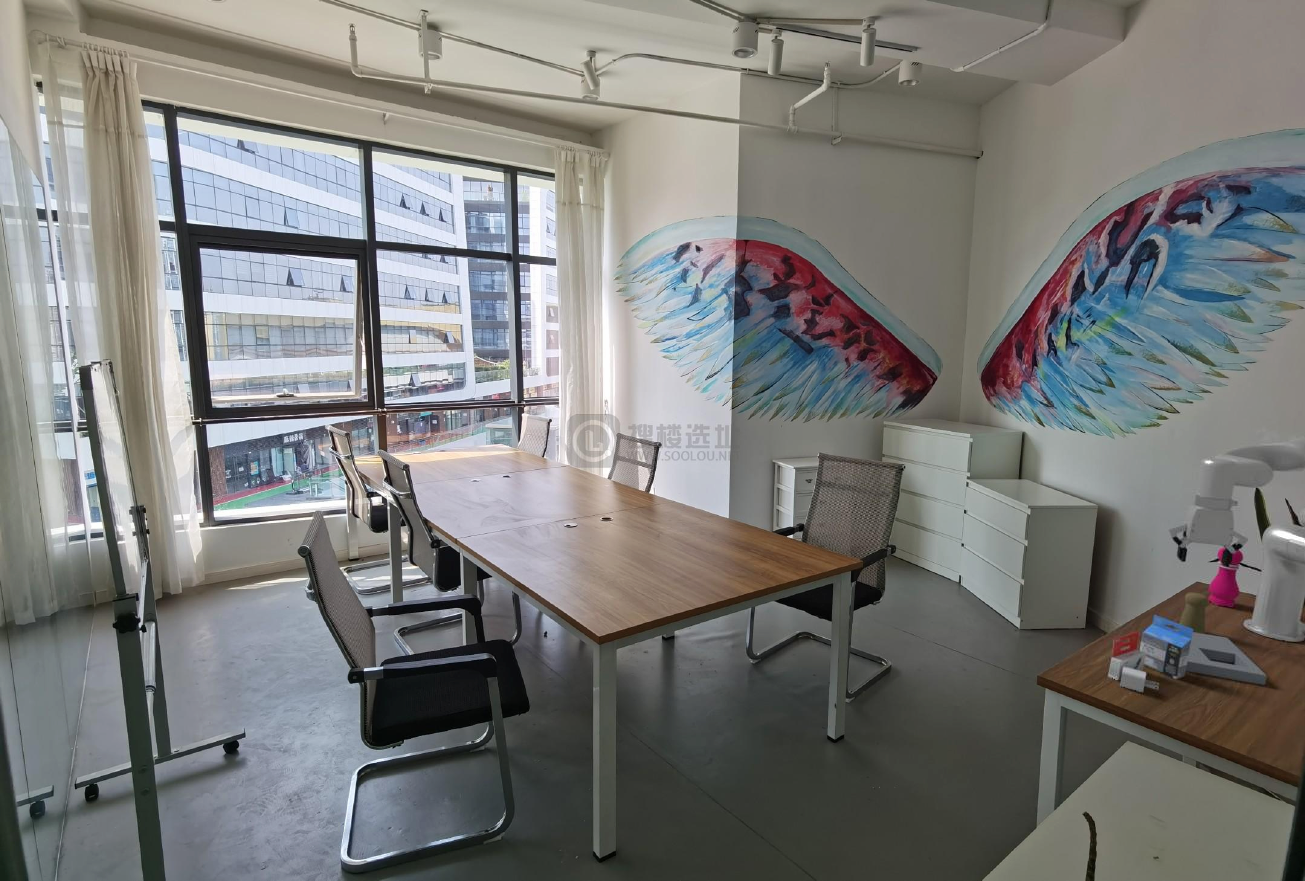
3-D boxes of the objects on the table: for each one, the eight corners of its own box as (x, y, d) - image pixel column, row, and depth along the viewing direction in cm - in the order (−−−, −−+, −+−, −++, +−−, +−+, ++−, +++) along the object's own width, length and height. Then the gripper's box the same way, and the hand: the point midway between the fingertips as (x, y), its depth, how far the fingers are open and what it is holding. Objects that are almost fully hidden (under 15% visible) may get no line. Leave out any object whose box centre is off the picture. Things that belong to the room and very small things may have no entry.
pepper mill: (1242, 609, 200) (1254, 547, 197) (1215, 607, 202) (1226, 545, 199) (1227, 600, 207) (1238, 540, 204) (1201, 598, 209) (1211, 538, 206)
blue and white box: (1136, 662, 163) (1144, 616, 161) (1145, 659, 165) (1153, 614, 163) (1176, 679, 155) (1184, 631, 153) (1185, 677, 157) (1194, 629, 155)
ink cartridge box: (1143, 672, 159) (1149, 635, 157) (1118, 682, 153) (1124, 643, 152) (1132, 667, 161) (1138, 630, 159) (1106, 677, 156) (1112, 638, 154)
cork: (1172, 626, 186) (1178, 589, 184) (1191, 626, 187) (1197, 589, 185) (1191, 635, 180) (1197, 598, 178) (1210, 635, 181) (1217, 598, 179)
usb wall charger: (1121, 680, 154) (1123, 665, 153) (1157, 691, 150) (1160, 675, 149) (1119, 687, 151) (1122, 671, 150) (1157, 698, 147) (1159, 681, 146)
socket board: (1225, 646, 174) (1226, 637, 174) (1264, 685, 154) (1266, 675, 154) (1153, 634, 180) (1154, 625, 180) (1182, 670, 160) (1184, 660, 160)
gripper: (1246, 503, 177) (1236, 563, 180) (1169, 496, 184) (1160, 554, 186) (1259, 510, 170) (1248, 572, 173) (1178, 502, 177) (1169, 562, 180)
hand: (1203, 562), depth 180 cm, fingers open, 9 cm apart
